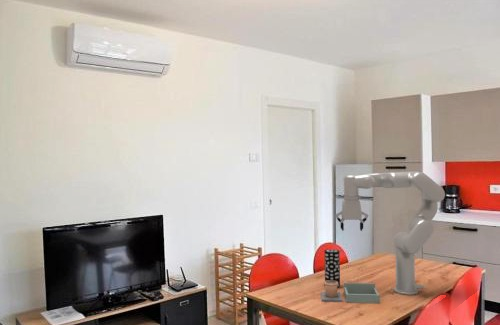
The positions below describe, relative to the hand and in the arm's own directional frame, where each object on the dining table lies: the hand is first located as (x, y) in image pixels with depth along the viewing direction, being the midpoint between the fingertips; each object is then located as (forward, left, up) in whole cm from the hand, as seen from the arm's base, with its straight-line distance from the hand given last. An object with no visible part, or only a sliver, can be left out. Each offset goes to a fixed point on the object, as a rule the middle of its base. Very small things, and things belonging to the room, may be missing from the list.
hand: (351, 230), depth 219 cm
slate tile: (+12, +10, -33) cm, 37 cm away
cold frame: (-3, +10, -33) cm, 35 cm away
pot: (+12, +10, -32) cm, 36 cm away
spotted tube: (+10, -10, -34) cm, 36 cm away
